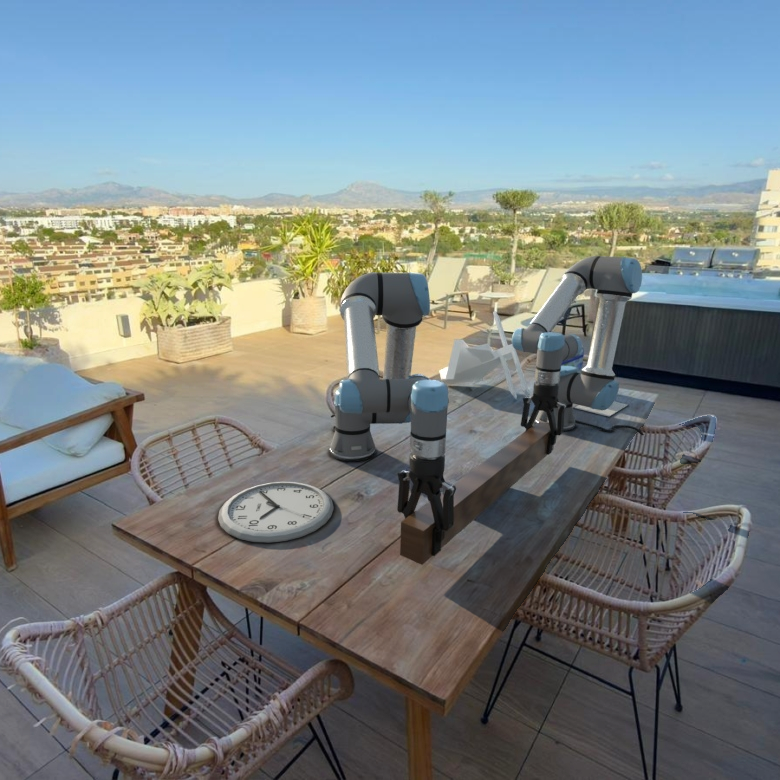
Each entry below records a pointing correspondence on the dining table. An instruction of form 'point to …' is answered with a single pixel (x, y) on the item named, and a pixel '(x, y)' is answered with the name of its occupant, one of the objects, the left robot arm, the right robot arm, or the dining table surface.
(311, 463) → the dining table surface
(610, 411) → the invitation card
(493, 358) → the white plastic object
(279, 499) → the wall clock
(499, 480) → the bar
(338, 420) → the left robot arm
